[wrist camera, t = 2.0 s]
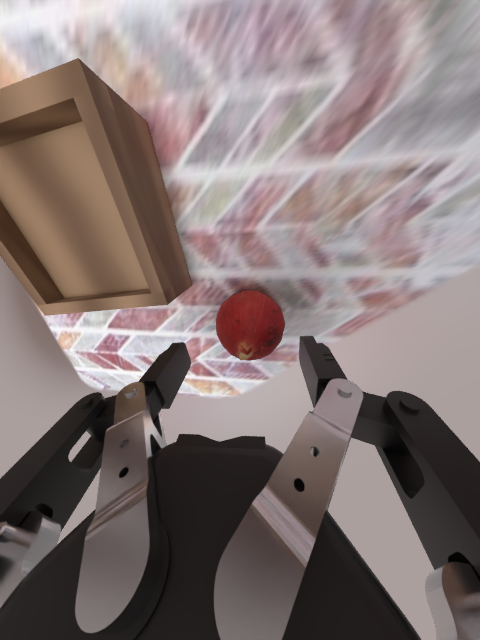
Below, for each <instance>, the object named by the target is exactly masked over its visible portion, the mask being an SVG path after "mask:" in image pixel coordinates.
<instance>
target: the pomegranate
mask: <svg viewBox="0 0 480 640" xmlns="http://www.w3.org/2000/svg"><path fill="white" fill-rule="evenodd" d="M284 327H285V321H284V317H283V314H282V311H281V308H280V307H279V306H278V305H277V304H276V303H275V302H274V301H273V300H272V299H271V298H270V297H269V296H267V295H265V294H263V293H261V292H259V291H249V290H245V291H242V292H239V293H235V294H233V295H232V296H231V297H229V298H228V299H227V300H226V301H224V303H223V304H222V305H221V307H220V309H219V312H218V314H217V318H216V331H217V335H218V338H219V340H220V342H221V344H222V345H223V347H224V348H225V349H226V350H227V351H228V352H229V353H230V354H231V355H233V356H235V357H237V358H239V359H240V360H249V361H250V360H256V359H261V358H263V357H265V356H267V355H269V354H271V353H272V352H273V350H274V349H275V348H276V347H277V346H278V344H279V343H280V341H281V339H282V336H283V331H284Z"/></svg>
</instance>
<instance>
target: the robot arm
mask: <svg viewBox="0 0 480 640" xmlns="http://www.w3.org/2000/svg"><path fill="white" fill-rule="evenodd" d="M299 360H300V365H301V368H302V372H303V375H304V378H305V381H306V384H307V388H308V391H309V394H310V398H311V400H312V404H313V407H314V410H313V411H312V412H308V413H307V415H306V417H305V418H304V420H303V422H302V424H301V425H300V427H299V429H298V430H297V432H296V434H295V436H294V437H293V439H292V441H291V443H290V444H289V446H288V448H287V450H286V451H285V453H284V454H283V453H281V452H280V451H279V450H277V449H275V448H273V447H271V446H269V445H266V443H265V437H257V436H241V437H237V438H233V439H229V440H225V441H221V442H218V441H215V440H212V439H210V438H207V437H204V436H201V435H193V434H179V436H178V439H177V441H176V442H174V443H172V444H170V445H167V444H166V440H165V435H164V430H163V425H162V419H161V415H160V413H159V412H160V410H161V409H169V408H170V406H171V404H172V402H173V400H174V398H175V396H176V394H177V392H178V390H179V388H180V386H181V384H182V382H183V380H184V378H185V376H186V374H187V372H188V370H189V368H190V365H191V360H190V356H189V354H188V351H187V348H186V345H185V343H183V342H181V343H172V344H171V346H170V347H169V348H168V350H166V351H164V352H163V353H162V354H160V355H159V356H158V358H157V359H156V360H155V361H154V363H153V364H152V366H150V368H149V369H148V370H147V372H146V373H145V374H144V375H143V377H142V378H141V379H140V380H139V382H134V383H131V384H129V385H127V386H126V387H124V388H123V389H122V390H121V391H120V392H119V393H118V394H117V395H115V396H112V397H108V398H104V397H103V395H102V394H101V393H99V392H97V393H92V394H89V395H87V396H85V397H84V398H82V399H81V400H79V401H78V402H77V403H76V404H75V405H74V406H73V407H72V408H71V409H70V410H69V411H68V412H67V413H66V414H65V415H64V416H63V417H62V418H61V419H60V420H59V421H58V422H57V423H56V424H55V425H54V426H53V427H52V428H51V429H50V430H49V431H48V432H47V433H46V434H45V435H44V436H43V437H42V438H41V439H40V440H39V441H38V442H37V443H36V444H35V445H34V446H33V447H32V448H31V449H30V450H29V451H28V452H27V453H26V454H25V455H24V456H23V457H22V458H21V459H20V460H19V461H18V462H17V463H16V464H15V465H14V466H13V467H12V468H11V469H10V470H9V471H8V472H7V473H6V474H5V475H4V476H3V477H2V478H1V479H0V640H421V638H420V637H419V635H418V634H417V632H416V631H415V629H414V628H413V626H412V625H411V624H410V622H409V621H408V620H407V618H406V617H405V615H404V614H403V613H402V611H401V610H400V608H399V607H398V606H397V604H396V603H395V602H394V601H393V599H392V598H391V596H390V595H389V594H388V592H387V591H386V590H385V588H384V587H383V585H382V584H381V583H380V581H379V580H378V579H377V577H376V576H375V575H374V573H373V572H372V570H371V569H370V568H369V566H368V565H367V564H366V562H365V561H364V560H363V558H362V557H361V555H360V554H359V553H358V551H357V550H356V549H355V547H354V546H353V545H352V543H351V542H350V541H349V539H348V538H347V537H346V535H345V534H344V532H343V531H342V530H341V528H340V527H339V526H338V524H337V523H336V522H335V520H334V519H333V517H332V516H331V515H330V513H329V512H328V511H327V510H328V507H329V504H330V501H331V498H332V495H333V492H334V489H335V486H336V482H337V480H338V476H339V473H340V470H341V467H342V464H343V460H344V458H345V455H346V451H347V448H348V445H349V442H350V439H351V437H352V438H355V439H358V440H360V441H363V442H366V443H370V444H372V445H375V447H376V449H377V451H378V453H379V455H380V457H381V459H382V461H383V463H384V465H385V468H386V469H387V472H388V474H389V476H390V478H391V480H392V482H393V484H394V486H395V488H396V490H397V493H398V494H399V497H400V499H401V501H402V503H403V505H404V507H405V509H406V511H407V513H408V516H409V517H410V520H411V522H412V524H413V526H414V528H415V530H416V532H417V534H418V536H419V538H420V540H421V543H422V545H423V547H424V549H425V551H426V553H427V555H428V557H429V559H430V561H431V563H432V566H433V568H434V571H432V572H431V573H429V575H428V576H427V578H426V583H425V590H426V596H427V601H428V604H429V607H430V610H431V613H432V616H433V619H434V623H435V628H436V635H437V640H480V462H479V461H478V459H477V458H476V457H475V456H474V455H473V454H472V453H471V452H470V451H469V450H468V448H467V447H466V446H465V445H464V444H463V443H462V442H461V440H460V439H459V438H458V437H457V436H456V435H455V434H454V433H453V432H452V430H450V428H449V427H448V426H447V425H446V424H445V423H444V421H443V420H442V419H441V418H440V417H439V416H438V415H437V414H436V413H435V411H434V410H433V409H432V408H431V407H430V406H429V405H428V404H427V403H426V402H425V401H423V400H422V399H420V398H418V397H416V396H415V395H412V394H410V393H407V392H402V391H392V392H390V393H389V394H388V395H387V397H382V396H377V395H373V394H369V393H366V392H363V391H362V390H361V389H360V388H359V387H358V386H357V385H356V384H355V383H353V382H351V381H349V380H347V378H346V376H345V374H344V373H343V371H342V369H341V368H340V366H339V365H338V363H337V361H336V360H335V358H334V356H333V355H332V353H331V351H330V349H329V348H328V347H327V346H325V345H324V344H323V343H316V341H315V339H314V337H313V336H301V337H300V347H299ZM85 431H87V432H88V433H89V434H90V435H91V437H90V438H89V440H88V441H87V442H86V444H85V445H84V446H83V447H82V449H81V450H80V451H79V453H78V454H77V455H76V457H75V458H74V459H73V461H72V462H70V461H69V459H68V455H69V452H70V450H71V449H72V447H73V446H74V445H75V444H76V442H77V441H78V440H79V439H80V437H81V436H82V435H83V434H84V432H85ZM100 468H101V471H100V479H99V487H98V494H97V503H96V509H95V510H94V511H93V512H92V513H91V514H90V515H89V516H88V517H87V518H86V519H84V520H83V521H82V522H81V523H80V524H79V525H78V526H77V527H76V528H75V529H74V530H73V531H72V532H71V533H70V534H68V535H67V536H66V537H65V538H64V539H63V540H62V541H61V542H60V543H59V544H57V542H58V540H59V537H60V533H61V531H62V529H63V528H64V526H65V524H66V523H67V521H68V519H69V518H70V516H71V515H72V513H73V511H74V510H75V508H76V507H77V505H78V503H79V502H80V500H81V499H82V497H83V495H84V494H85V492H86V490H87V489H88V487H89V486H90V484H91V482H92V481H93V479H94V478H95V476H96V474H97V473H98V471H99V469H100Z"/></svg>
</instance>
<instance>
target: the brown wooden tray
mask: <svg viewBox="0 0 480 640" xmlns="http://www.w3.org/2000/svg"><path fill="white" fill-rule="evenodd" d="M0 256H1V258H3V260H4V261H5V263H6V264H7V266H8V267H9V268H10V269H11V271H12V272H13V274H14V275H15V276H16V278H17V279H18V280H19V282H20V283H21V284H22V286H23V287H24V288H25V290H26V291H27V292H28V294H29V295H30V296H31V298H32V299H33V300H34V302H35V303H36V304H37V306H38V307H39V308H40V310H41V311H42V312H43V314H44V315H57V314H68V313H79V312H90V311H101V310H113V309H124V308H135V307H146V306H157V305H168V304H169V303H170V302H171V301H173V300H174V299H175V298H176V297H178V296H179V295H180V294H181V293H183V292H184V291H185V290H186V289H188V288H189V287H190V286H191V285H192V283H191V280H190V276H189V272H188V269H187V265H186V262H185V258H184V254H183V251H182V247H181V243H180V240H179V236H178V232H177V229H176V225H175V222H174V218H173V214H172V211H171V207H170V203H169V200H168V196H167V192H166V189H165V185H164V182H163V178H162V174H161V171H160V167H159V163H158V160H157V156H156V152H155V149H154V145H153V142H152V138H151V134H150V131H149V127H148V123H147V121H146V120H145V119H144V118H142V117H141V116H140V115H139V114H138V113H137V112H136V111H135V110H134V109H133V108H132V107H131V106H130V105H128V104H127V103H126V102H125V101H124V100H123V99H122V98H121V97H120V96H119V95H118V94H117V93H115V92H114V91H113V90H112V89H111V88H110V87H109V86H108V85H107V84H106V83H105V82H104V81H102V80H101V79H100V78H99V77H98V76H97V75H96V74H95V73H94V72H93V71H92V70H91V69H90V68H88V67H87V66H86V65H85V64H84V63H83V62H82V61H81V60H80V59H79V58H78V59H75V60H73V61H70V62H68V63H65V64H62V65H60V66H57V67H55V68H52V69H50V70H47V71H45V72H42V73H40V74H37V75H35V76H32V77H29V78H27V79H24V80H22V81H19V82H17V83H14V84H12V85H9V86H7V87H4V88H2V89H0Z"/></svg>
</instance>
